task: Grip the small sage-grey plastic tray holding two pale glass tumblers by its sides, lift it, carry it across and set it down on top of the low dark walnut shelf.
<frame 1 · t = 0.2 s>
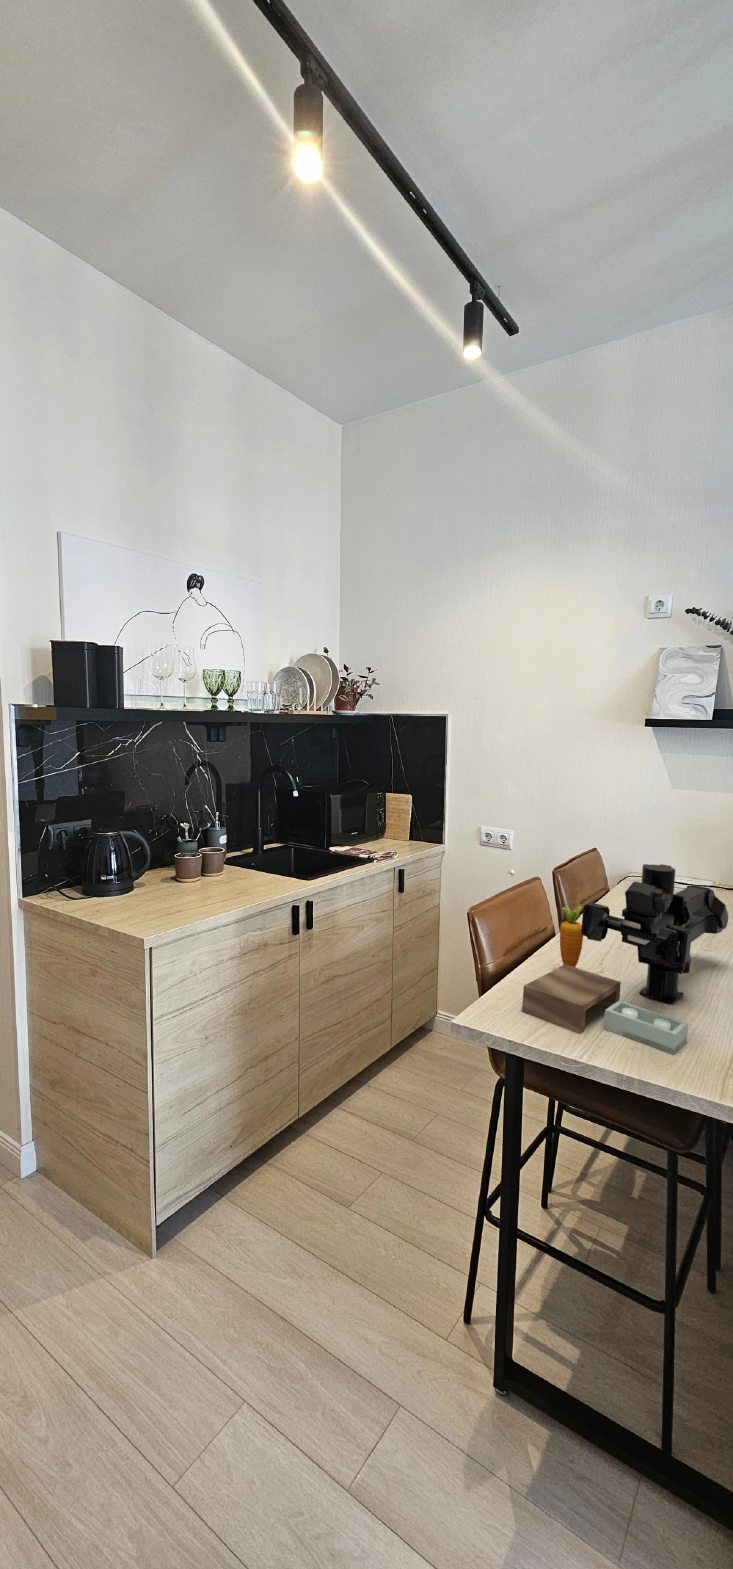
hand: (613, 944, 113), 17 cm above the table, tool horizontal, fingers open, 9 cm apart
walnut shelf: (571, 1009, 125), on the table
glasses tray: (644, 1035, 115), on the table
carrot: (568, 974, 142), on the table
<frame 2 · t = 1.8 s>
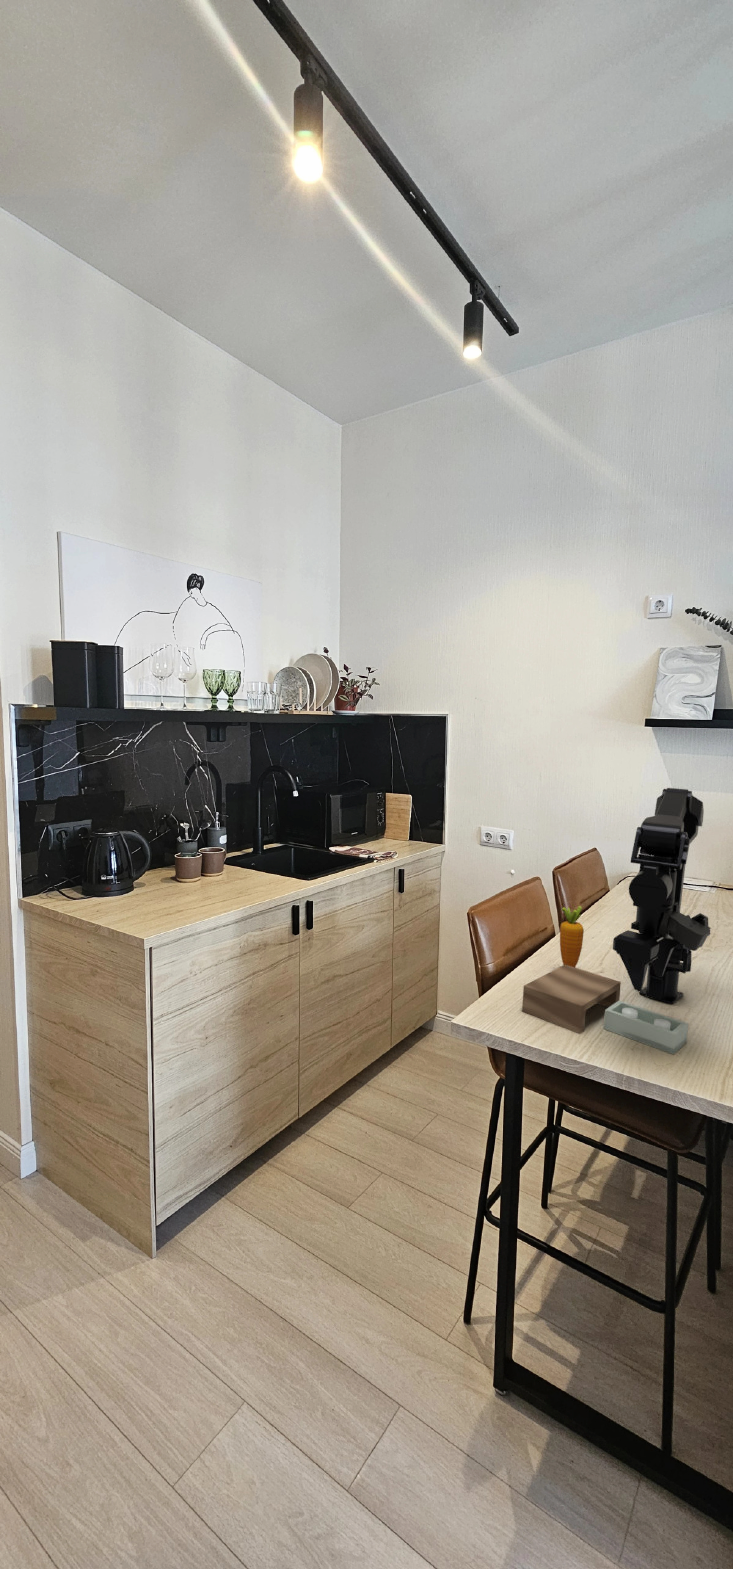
hand: (648, 983, 114), 9 cm above the table, tool pointing down, fingers open, 9 cm apart
nothing on the table moved.
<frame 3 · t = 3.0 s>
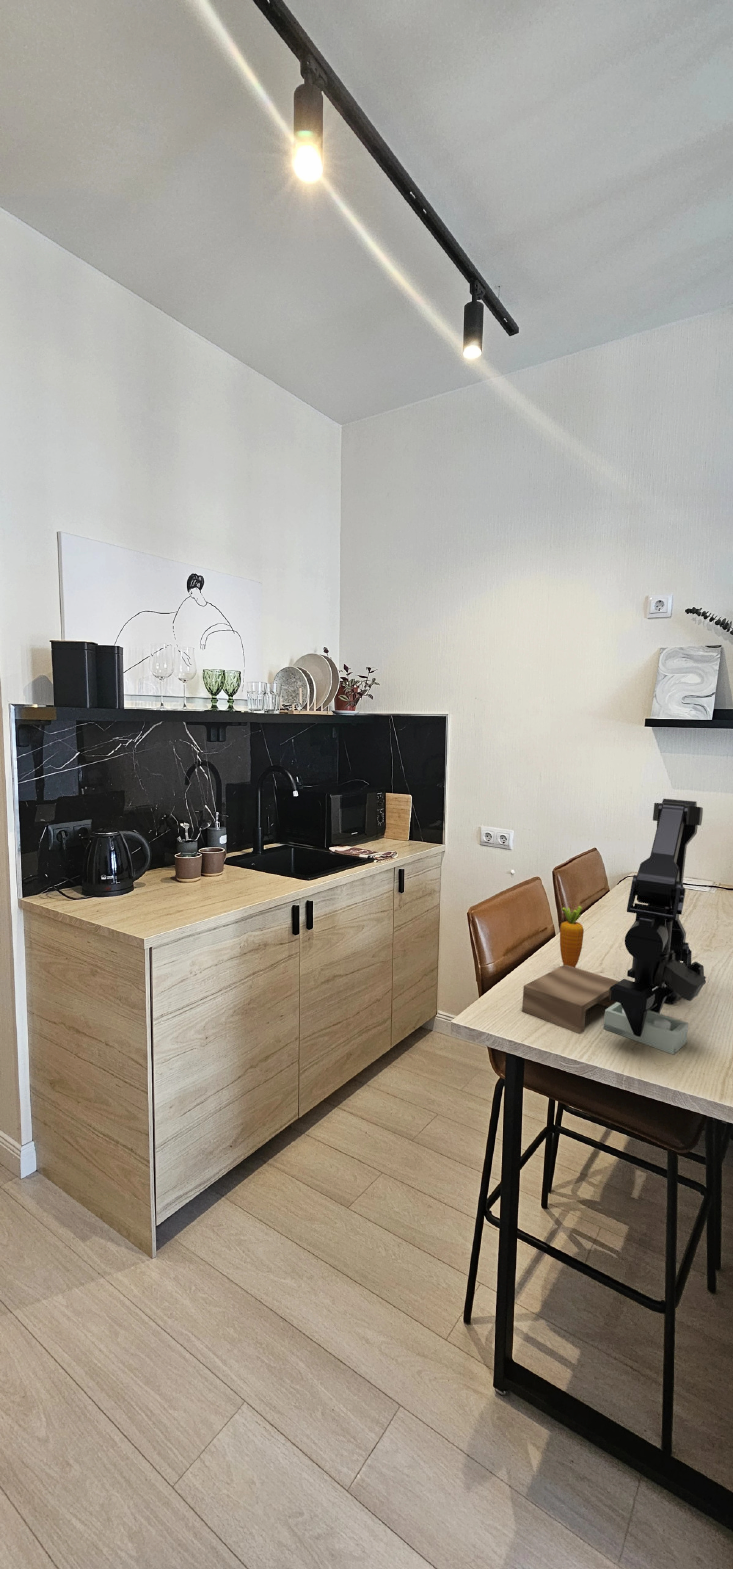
hand: (644, 1029, 115), 1 cm above the table, tool pointing down, fingers closed on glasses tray, 6 cm apart
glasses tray: (644, 1035, 115), on the table, touching gripper
everything else where it was.
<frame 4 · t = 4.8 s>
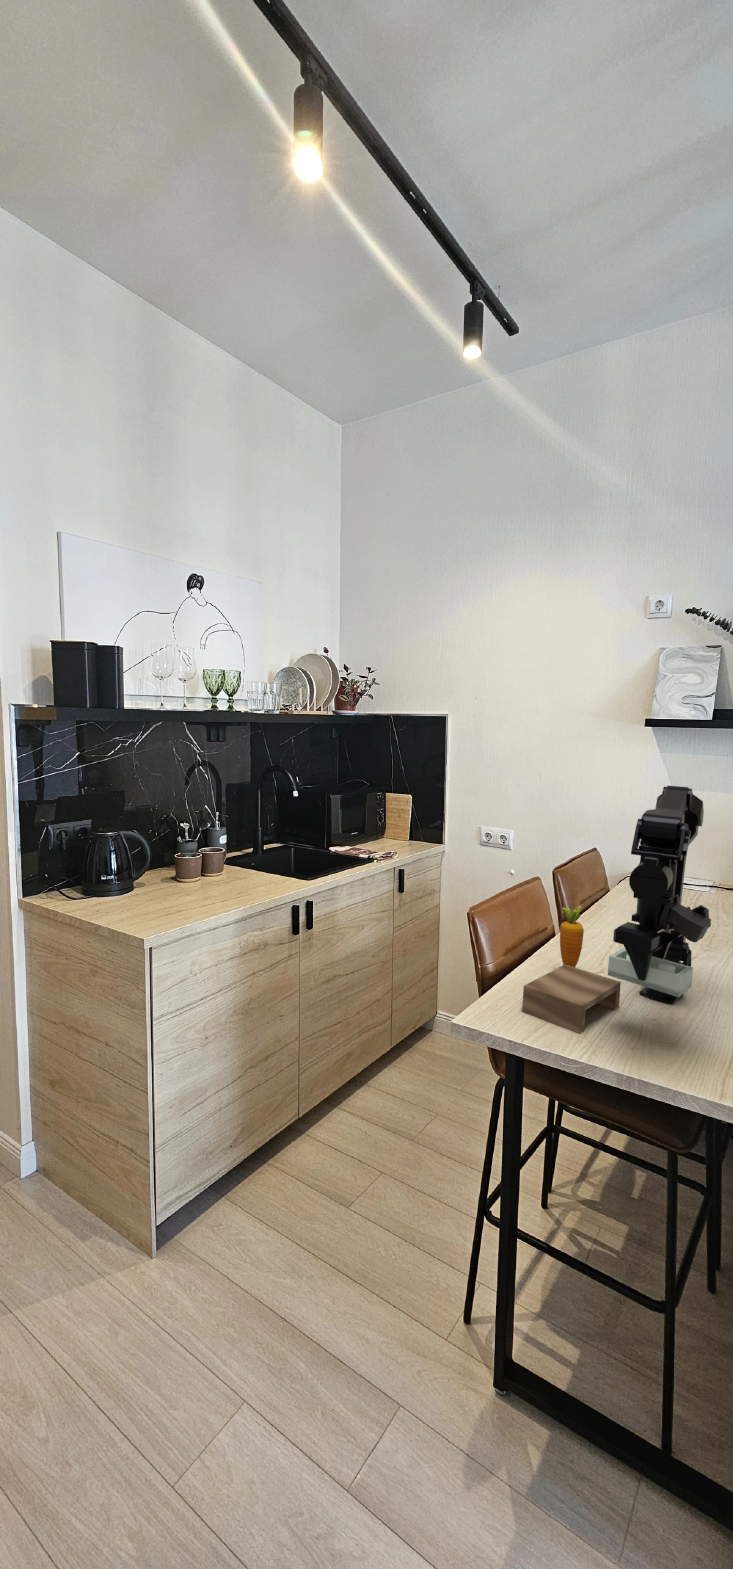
hand: (649, 975, 114), 11 cm above the table, tool pointing down, fingers closed on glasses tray, 6 cm apart
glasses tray: (648, 981, 114), point 10 cm above the table, touching gripper
everything else where it was.
when the fingers open (7 cm above the table, at t = 6.8 s): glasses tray drops 1 cm, resting on walnut shelf.
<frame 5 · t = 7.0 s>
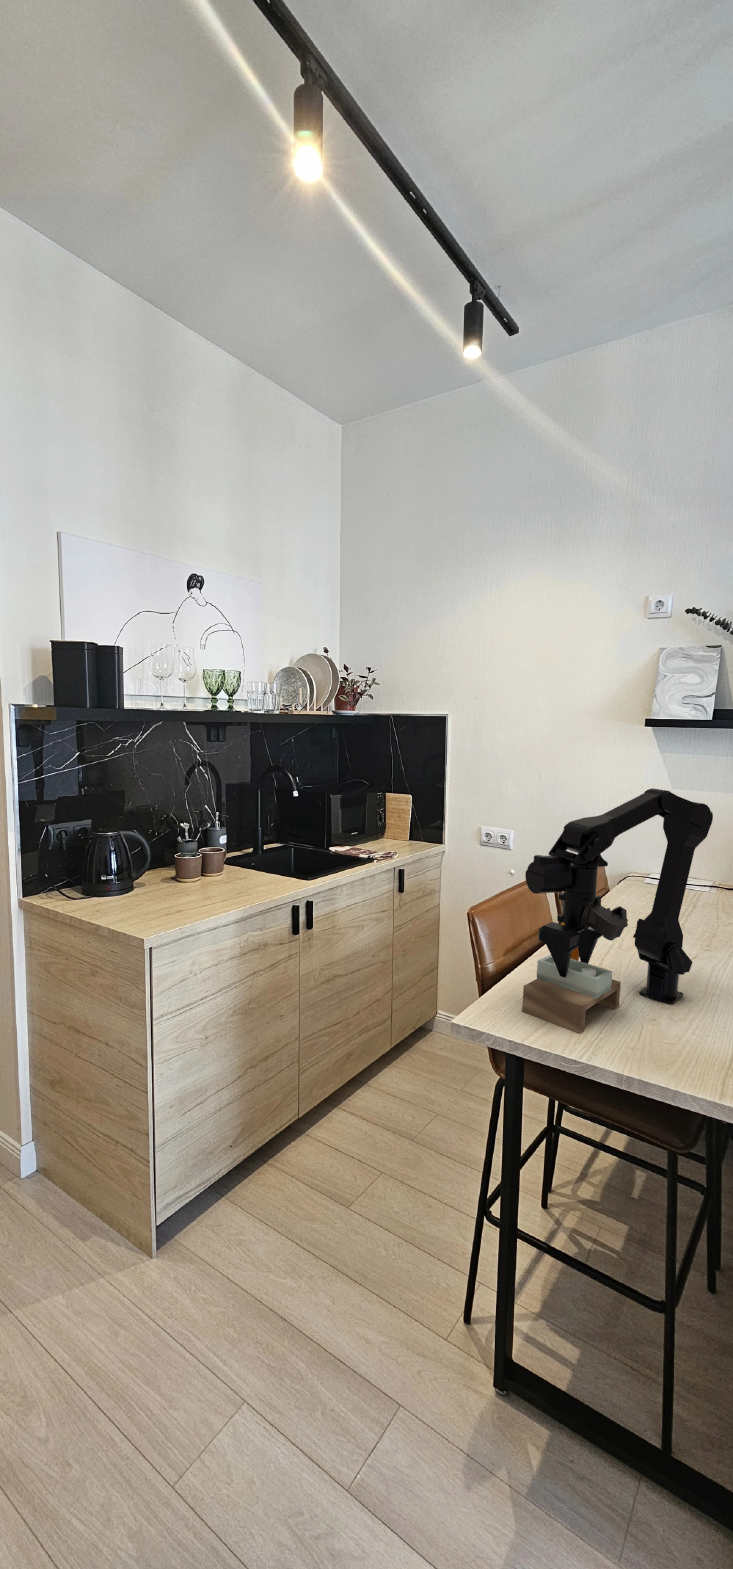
hand: (574, 970, 124), 7 cm above the table, tool pointing down, fingers open, 8 cm apart
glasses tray: (573, 983, 124), point 5 cm above the table, touching walnut shelf
everything else where it was.
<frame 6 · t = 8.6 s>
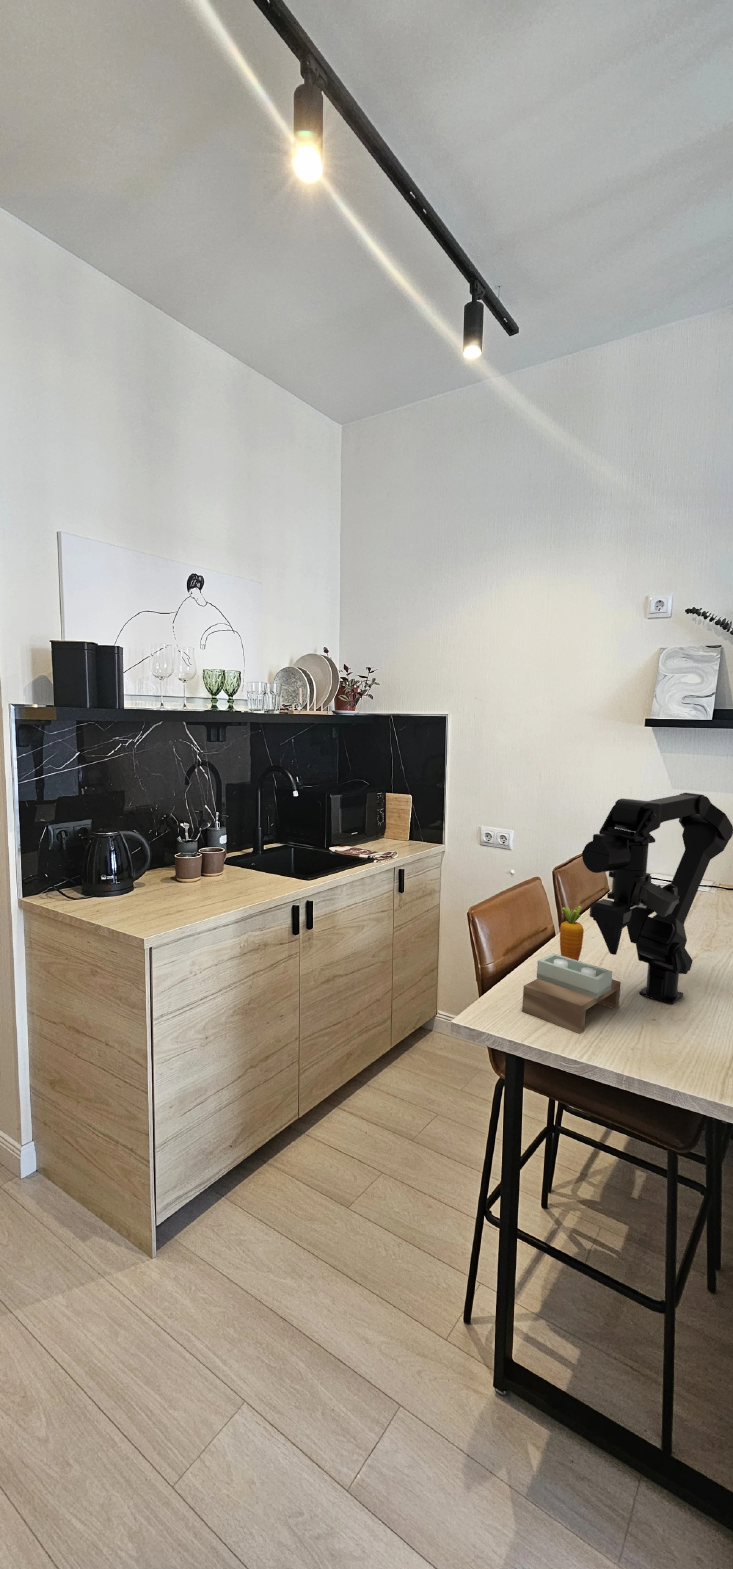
hand: (623, 948, 124), 12 cm above the table, tool pointing down, fingers open, 9 cm apart
nothing on the table moved.
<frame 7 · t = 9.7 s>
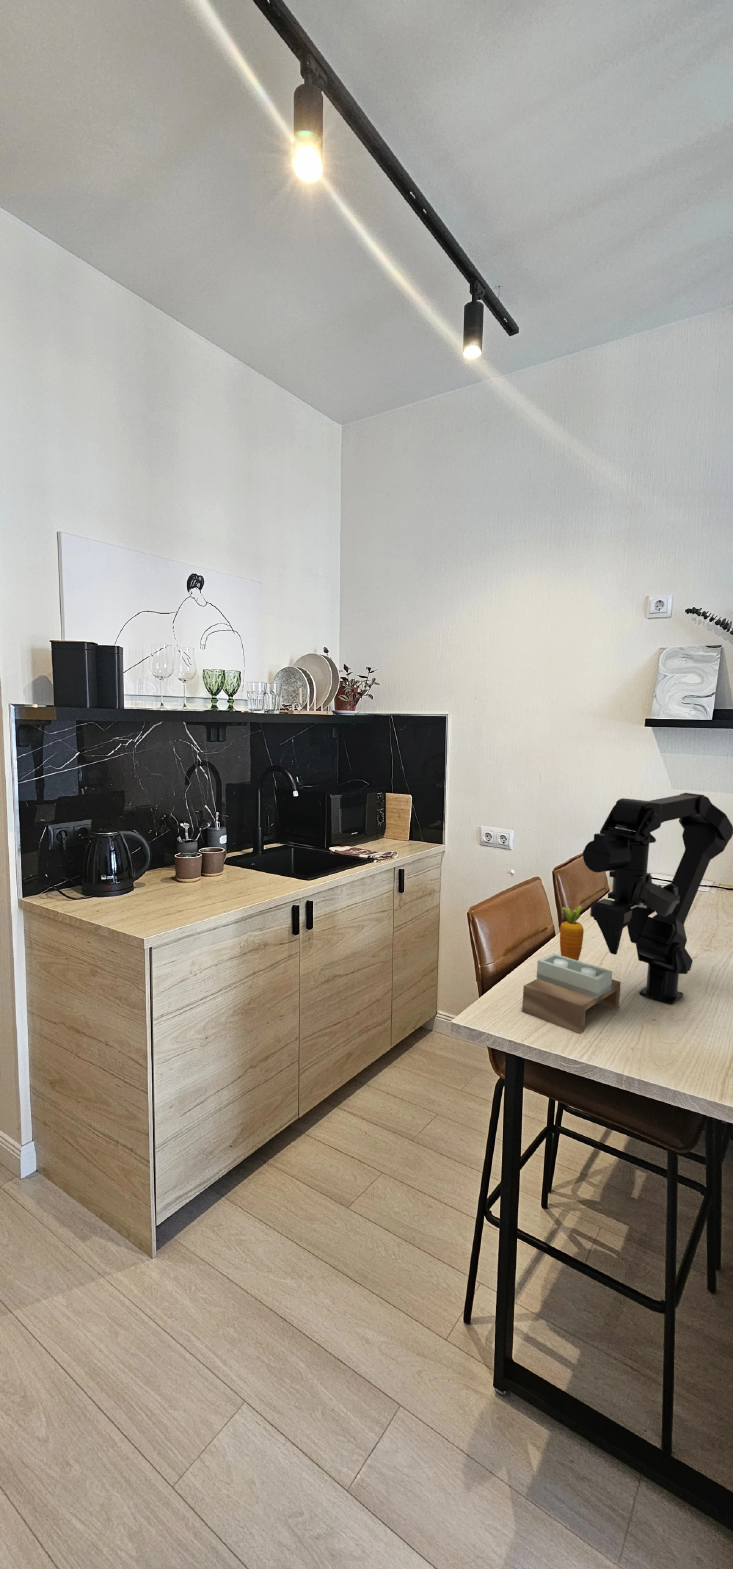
hand: (623, 948, 124), 12 cm above the table, tool pointing down, fingers open, 9 cm apart
nothing on the table moved.
at the end: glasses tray inside the target area (0.1 cm from its centre), point 5.0 cm above the table; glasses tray tilted 0°; the gripper is holding nothing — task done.
